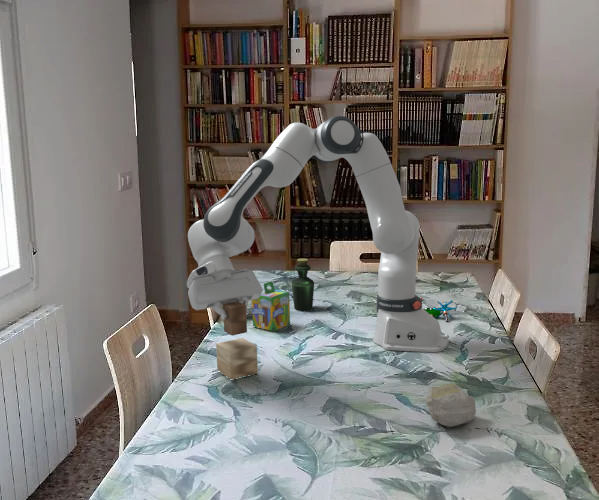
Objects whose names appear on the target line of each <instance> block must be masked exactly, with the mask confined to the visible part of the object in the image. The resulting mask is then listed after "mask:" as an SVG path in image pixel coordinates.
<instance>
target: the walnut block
mask: <svg viewBox="0 0 599 500" xmlns="http://www.w3.org/2000/svg"><path fill="white" fill-rule="evenodd" d="M222 309H223V310H224V311H228V314H229V318H228V319H225V320H223V331H224V332H225V333H227V334H228V335H230V336H232V337H233V336H237V335H241V334H245V333H248V326H247V325H248V319H247V315H246V305H245V304H243V303H241V302H239V301H237V302H232V303H226V304H223V305H222Z"/></svg>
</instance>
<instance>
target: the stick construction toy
mask: <svg viewBox="0 0 599 500" xmlns="http://www.w3.org/2000/svg"><path fill="white" fill-rule="evenodd" d="M444 302H445V304H443V303H442V302H441V301H439V300H437V304H439V305H440V307H435V306H433V307H425V308H423V309H424V310H425V311H426V312H427V313H429V314H430V315H431V316H433V317H434V318H439V317H440V316H442V317H444V318H445V322H446V323H449V317H451V318H452V317H453V316H452V314H451V313H450V312H449V311H453V310H454V312H456V311H457V310H456V309H458V306H457V305H455V307H450V305H451V303H452V304H453V303H454V302H453V299H451V300H450V301H449V302H448V303H447V301H446V300H445V301H444ZM448 316H449V317H448Z"/></svg>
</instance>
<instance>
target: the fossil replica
mask: <svg viewBox="0 0 599 500" xmlns="http://www.w3.org/2000/svg"><path fill="white" fill-rule="evenodd" d="M424 400H425V404H426V406H427V408H428V411H429V416H430V418H431V419H432V420H433V421H434V422H437V423H438V424H440V425H442V426H445V427H448V428H453V427H457V426H460V425H462V424H463V425H464V424H468V423H470V422H472V421H473V419H474V417H475V416H476V412H477V409H476V400H475V398H474V397H473V396H472V395H471V396H470V395H468V394H466V393H465V391H463V390H462V389H461V387H460V386H459V385H458V384H455V383H448V384H447V383H446V384H442V385H440V386H432V387H431V388H430V389H428V392H427V394H426V395H425V399H424Z"/></svg>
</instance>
